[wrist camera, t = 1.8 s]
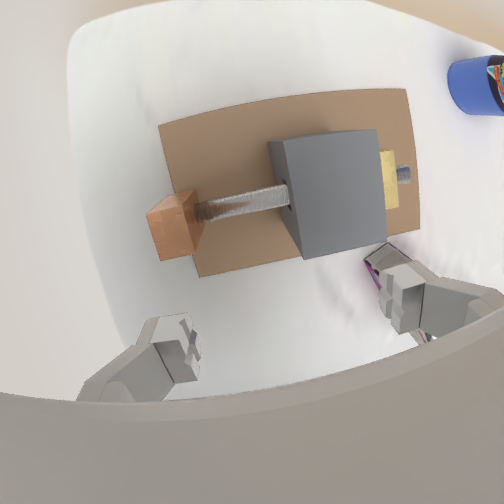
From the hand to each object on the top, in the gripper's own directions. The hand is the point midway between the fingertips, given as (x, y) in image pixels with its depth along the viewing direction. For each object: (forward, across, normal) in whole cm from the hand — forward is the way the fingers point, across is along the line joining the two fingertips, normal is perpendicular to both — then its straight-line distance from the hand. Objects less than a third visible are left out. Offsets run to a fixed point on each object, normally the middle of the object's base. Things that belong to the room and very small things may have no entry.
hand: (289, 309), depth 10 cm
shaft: (+21, +4, 0) cm, 21 cm away
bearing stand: (+27, +7, 0) cm, 28 cm away
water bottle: (+27, +37, +11) cm, 47 cm away
